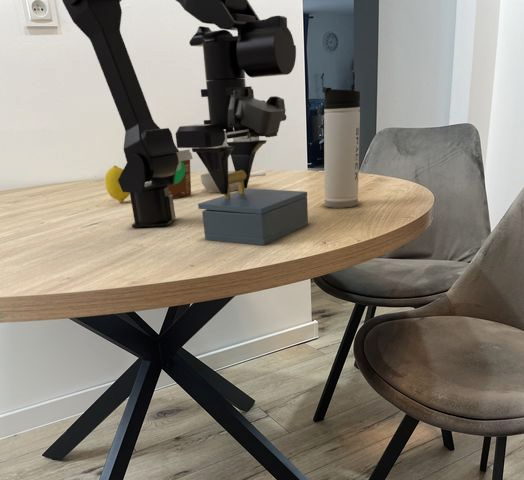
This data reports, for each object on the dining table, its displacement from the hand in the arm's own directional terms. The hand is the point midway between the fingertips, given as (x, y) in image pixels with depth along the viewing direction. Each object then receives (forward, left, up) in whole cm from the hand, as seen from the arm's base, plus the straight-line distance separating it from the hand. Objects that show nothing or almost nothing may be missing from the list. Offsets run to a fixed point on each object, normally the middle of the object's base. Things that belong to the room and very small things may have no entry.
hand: (234, 191), depth 81 cm
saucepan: (-6, +43, -6) cm, 44 cm away
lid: (+3, -2, -2) cm, 4 cm away
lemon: (-31, +33, -6) cm, 46 cm away
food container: (-21, +36, -6) cm, 43 cm away
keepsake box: (+4, -2, -6) cm, 7 cm away
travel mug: (+17, +17, -6) cm, 25 cm away
